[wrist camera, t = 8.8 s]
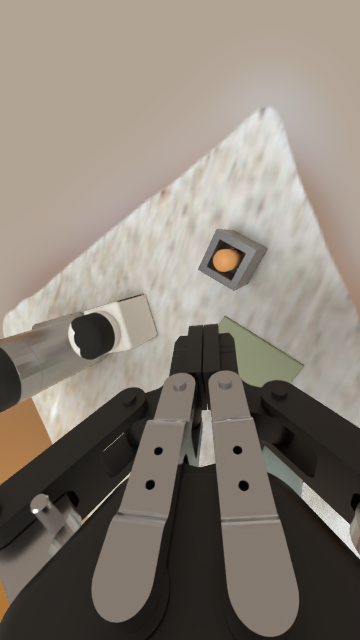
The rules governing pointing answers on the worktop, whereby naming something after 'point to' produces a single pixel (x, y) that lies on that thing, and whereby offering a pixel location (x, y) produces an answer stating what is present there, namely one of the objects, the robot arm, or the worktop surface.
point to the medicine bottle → (112, 328)
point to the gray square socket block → (247, 266)
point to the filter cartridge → (281, 470)
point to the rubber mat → (259, 357)
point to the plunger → (228, 259)
